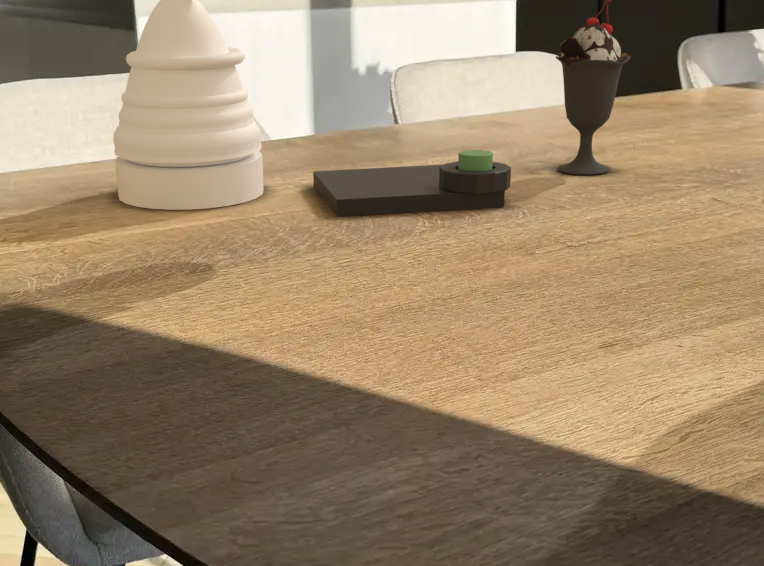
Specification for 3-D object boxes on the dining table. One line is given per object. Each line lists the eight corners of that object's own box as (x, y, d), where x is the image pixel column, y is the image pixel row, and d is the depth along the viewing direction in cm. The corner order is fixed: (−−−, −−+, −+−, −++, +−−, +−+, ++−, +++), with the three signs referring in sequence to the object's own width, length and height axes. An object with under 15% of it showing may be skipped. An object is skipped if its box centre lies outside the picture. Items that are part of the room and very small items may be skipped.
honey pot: (293, 189, 100) (287, -29, 92) (190, 216, 91) (174, -23, 83) (191, 173, 107) (178, -30, 100) (87, 197, 98) (64, -24, 91)
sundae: (615, 163, 108) (630, -4, 101) (623, 177, 102) (640, 0, 95) (546, 163, 109) (556, -3, 102) (550, 176, 102) (561, 1, 96)
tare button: (486, 167, 94) (487, 148, 93) (496, 174, 91) (497, 154, 90) (454, 169, 93) (454, 150, 93) (463, 175, 91) (464, 156, 90)
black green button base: (472, 178, 103) (473, 145, 101) (517, 208, 91) (519, 171, 90) (313, 186, 101) (312, 153, 99) (338, 219, 89) (338, 181, 88)
